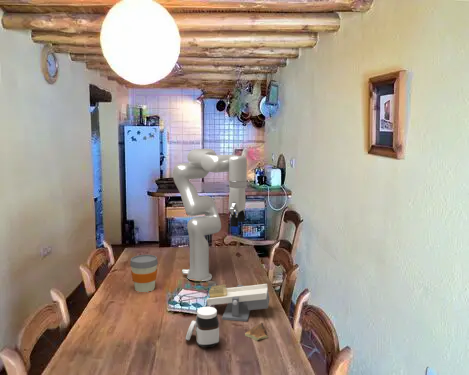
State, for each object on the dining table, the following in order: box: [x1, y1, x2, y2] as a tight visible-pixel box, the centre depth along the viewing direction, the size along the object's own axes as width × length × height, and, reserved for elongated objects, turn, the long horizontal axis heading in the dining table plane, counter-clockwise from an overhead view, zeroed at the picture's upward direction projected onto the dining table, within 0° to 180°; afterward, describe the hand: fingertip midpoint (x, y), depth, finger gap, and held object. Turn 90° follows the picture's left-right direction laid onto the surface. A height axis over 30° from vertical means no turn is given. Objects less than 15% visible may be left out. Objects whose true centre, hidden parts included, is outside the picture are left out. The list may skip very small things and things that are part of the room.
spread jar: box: [185, 306, 220, 348], centre depth 138 cm, size 12×11×12 cm
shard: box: [244, 322, 269, 342], centre depth 145 cm, size 11×8×2 cm
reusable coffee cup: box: [130, 254, 158, 293], centre depth 185 cm, size 13×13×15 cm
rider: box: [208, 283, 227, 298], centre depth 163 cm, size 6×6×4 cm
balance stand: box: [221, 284, 251, 322], centre depth 162 cm, size 10×17×8 cm, turn 171°
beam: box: [206, 283, 270, 311], centre depth 162 cm, size 24×10×6 cm, turn 81°
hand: (237, 224), depth 170 cm, fingers open, 9 cm apart
